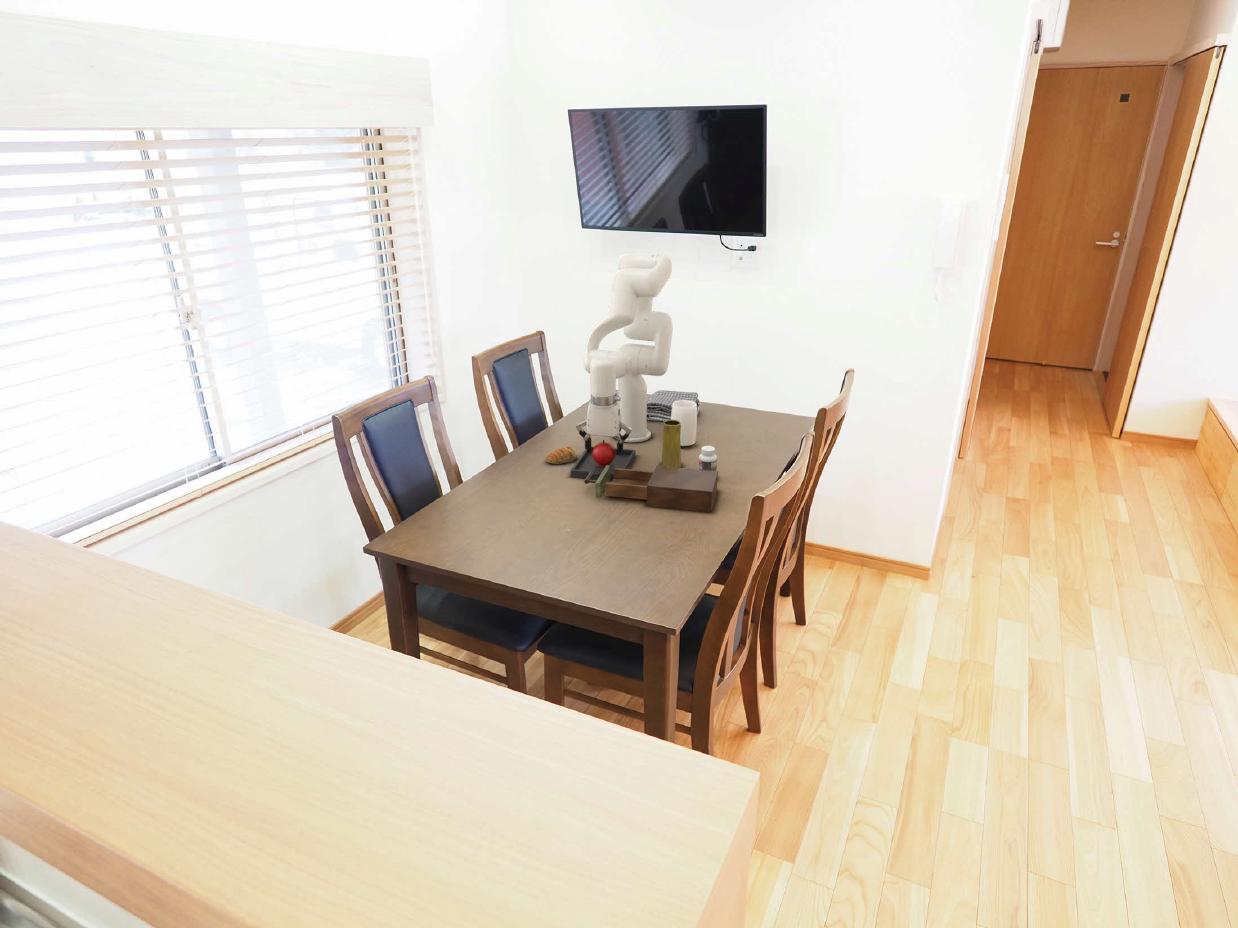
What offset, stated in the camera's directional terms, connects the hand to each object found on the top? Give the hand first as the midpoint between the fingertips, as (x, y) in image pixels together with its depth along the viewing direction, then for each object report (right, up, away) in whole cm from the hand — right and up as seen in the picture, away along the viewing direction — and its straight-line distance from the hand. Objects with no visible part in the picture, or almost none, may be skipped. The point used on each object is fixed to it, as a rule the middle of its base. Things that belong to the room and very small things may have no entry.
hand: (604, 452), depth 240 cm
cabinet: (+22, -13, -19) cm, 32 cm away
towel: (+24, +13, +43) cm, 51 cm away
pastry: (-13, -3, +7) cm, 15 cm away
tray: (0, -4, +2) cm, 5 cm away
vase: (+21, -4, +2) cm, 21 cm away
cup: (+26, +3, +18) cm, 31 cm away
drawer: (+5, -11, -16) cm, 20 cm away
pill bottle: (+31, -8, -7) cm, 32 cm away
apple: (0, -4, +1) cm, 4 cm away
